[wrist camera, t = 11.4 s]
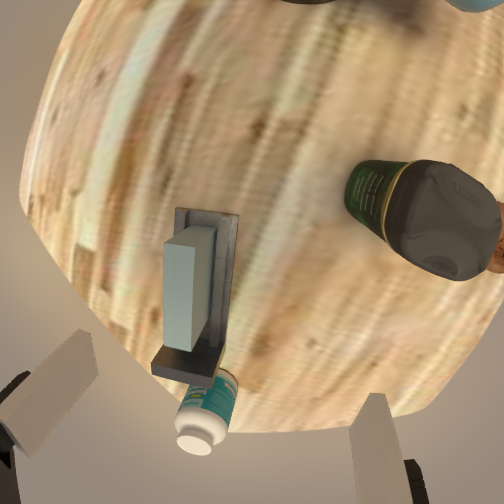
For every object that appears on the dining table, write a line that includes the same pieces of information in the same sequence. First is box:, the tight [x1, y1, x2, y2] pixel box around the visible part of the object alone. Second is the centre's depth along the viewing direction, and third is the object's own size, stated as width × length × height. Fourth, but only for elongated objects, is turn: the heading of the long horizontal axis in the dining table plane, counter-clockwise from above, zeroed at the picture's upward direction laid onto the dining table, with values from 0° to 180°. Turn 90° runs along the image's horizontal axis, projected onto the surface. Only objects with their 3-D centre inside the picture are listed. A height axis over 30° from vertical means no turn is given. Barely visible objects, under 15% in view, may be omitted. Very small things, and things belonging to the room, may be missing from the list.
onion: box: [486, 201, 504, 274], centre depth 27 cm, size 10×9×10 cm
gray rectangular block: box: [163, 225, 217, 352], centre depth 33 cm, size 12×3×9 cm, turn 173°
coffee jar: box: [345, 160, 503, 281], centre depth 24 cm, size 10×8×19 cm
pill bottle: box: [175, 369, 238, 455], centre depth 37 cm, size 8×7×14 cm
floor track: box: [151, 207, 239, 389], centre depth 34 cm, size 20×8×9 cm, turn 173°
